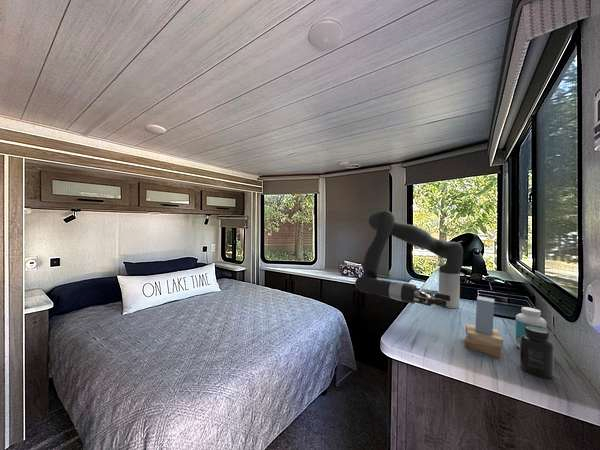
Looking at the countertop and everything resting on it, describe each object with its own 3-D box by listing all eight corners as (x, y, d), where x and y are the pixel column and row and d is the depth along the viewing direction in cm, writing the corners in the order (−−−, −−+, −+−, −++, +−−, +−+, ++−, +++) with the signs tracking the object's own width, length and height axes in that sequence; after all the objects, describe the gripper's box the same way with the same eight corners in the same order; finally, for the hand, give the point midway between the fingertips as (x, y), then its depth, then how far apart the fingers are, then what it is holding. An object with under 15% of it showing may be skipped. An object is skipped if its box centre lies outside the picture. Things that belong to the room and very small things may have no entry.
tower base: (467, 339, 86) (467, 331, 86) (499, 348, 80) (499, 339, 80) (464, 349, 79) (465, 340, 79) (499, 359, 74) (500, 349, 74)
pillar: (476, 326, 83) (477, 295, 82) (492, 330, 80) (494, 299, 80) (475, 331, 79) (476, 299, 79) (492, 335, 77) (494, 302, 76)
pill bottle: (549, 358, 74) (550, 315, 74) (517, 350, 78) (518, 310, 78) (542, 347, 80) (543, 308, 80) (513, 341, 84) (514, 304, 84)
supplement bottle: (560, 377, 64) (561, 334, 64) (540, 380, 63) (541, 335, 63) (531, 363, 71) (532, 323, 71) (513, 364, 70) (514, 324, 70)
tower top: (465, 331, 86) (465, 323, 86) (497, 338, 81) (497, 329, 81) (467, 341, 78) (468, 332, 78) (502, 349, 74) (503, 339, 74)
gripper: (397, 286, 92) (445, 295, 81) (407, 280, 103) (451, 287, 92) (396, 305, 92) (444, 316, 81) (407, 297, 103) (451, 306, 92)
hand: (448, 301), depth 87 cm, fingers open, 8 cm apart
